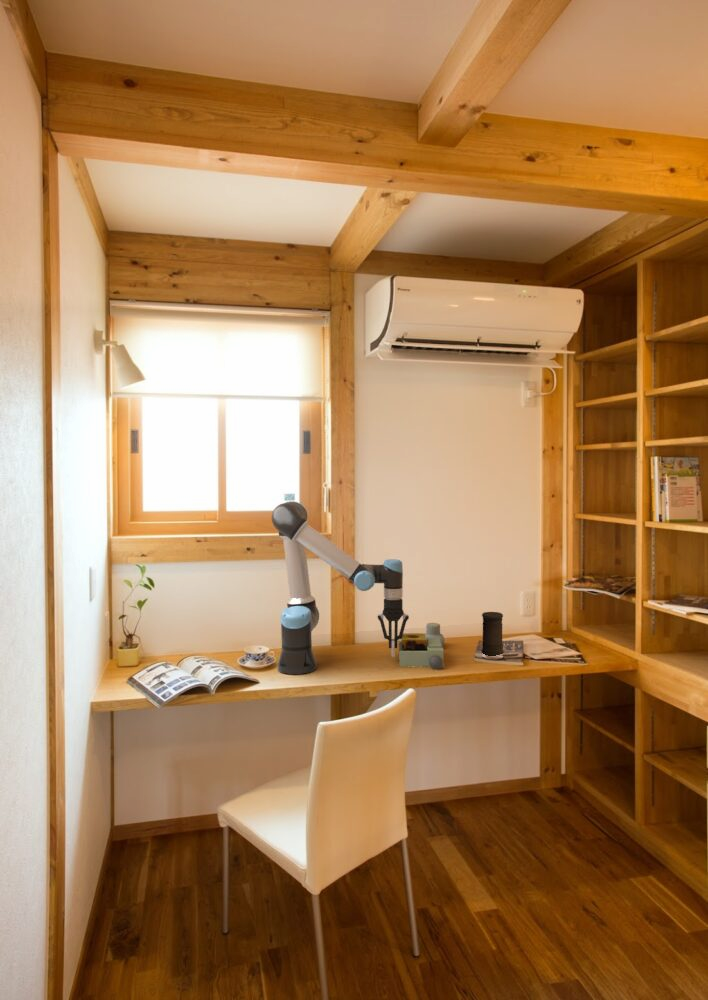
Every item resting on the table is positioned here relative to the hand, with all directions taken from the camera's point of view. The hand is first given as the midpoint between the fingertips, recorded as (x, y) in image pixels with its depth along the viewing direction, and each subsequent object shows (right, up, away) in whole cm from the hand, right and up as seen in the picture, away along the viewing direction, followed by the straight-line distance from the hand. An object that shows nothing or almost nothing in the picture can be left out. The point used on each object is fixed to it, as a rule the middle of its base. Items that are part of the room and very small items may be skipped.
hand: (393, 655), depth 262 cm
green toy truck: (+10, -2, 0) cm, 11 cm away
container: (+41, -2, +3) cm, 41 cm away
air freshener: (+19, -1, +19) cm, 27 cm away
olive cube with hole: (+8, -2, 0) cm, 9 cm away
